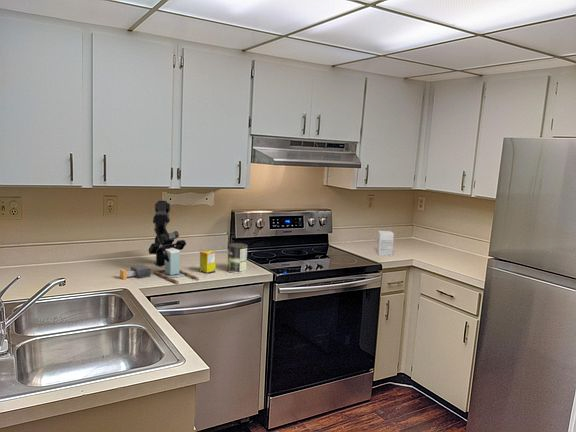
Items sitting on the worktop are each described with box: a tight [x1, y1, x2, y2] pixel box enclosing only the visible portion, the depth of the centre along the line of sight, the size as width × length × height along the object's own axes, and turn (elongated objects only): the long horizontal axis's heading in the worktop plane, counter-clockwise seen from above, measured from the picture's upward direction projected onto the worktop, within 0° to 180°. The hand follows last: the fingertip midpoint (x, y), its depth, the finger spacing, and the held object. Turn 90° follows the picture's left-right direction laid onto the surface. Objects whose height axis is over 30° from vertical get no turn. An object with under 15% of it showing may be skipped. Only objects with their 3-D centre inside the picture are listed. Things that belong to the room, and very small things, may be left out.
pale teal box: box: [164, 248, 181, 275], centre depth 234 cm, size 6×5×12 cm
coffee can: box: [227, 242, 248, 274], centre depth 247 cm, size 10×10×14 cm
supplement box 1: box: [199, 249, 217, 275], centre depth 243 cm, size 6×6×11 cm
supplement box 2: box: [376, 230, 395, 257], centre depth 301 cm, size 9×9×15 cm
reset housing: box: [130, 264, 151, 279], centre depth 231 cm, size 9×6×4 cm, turn 43°
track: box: [153, 269, 199, 285], centre depth 232 cm, size 22×12×1 cm, turn 43°
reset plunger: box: [119, 268, 136, 280], centre depth 227 cm, size 4×7×4 cm, turn 133°
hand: (173, 260), depth 233 cm, fingers closed on pale teal box, 5 cm apart
